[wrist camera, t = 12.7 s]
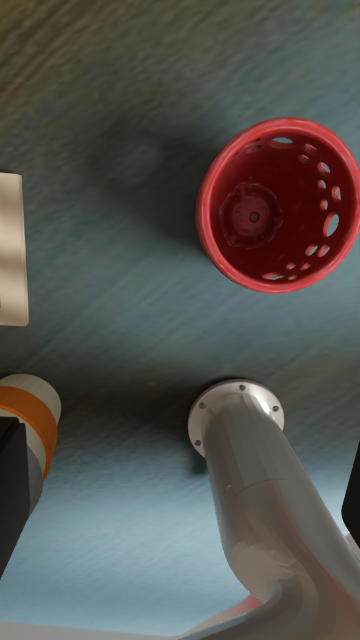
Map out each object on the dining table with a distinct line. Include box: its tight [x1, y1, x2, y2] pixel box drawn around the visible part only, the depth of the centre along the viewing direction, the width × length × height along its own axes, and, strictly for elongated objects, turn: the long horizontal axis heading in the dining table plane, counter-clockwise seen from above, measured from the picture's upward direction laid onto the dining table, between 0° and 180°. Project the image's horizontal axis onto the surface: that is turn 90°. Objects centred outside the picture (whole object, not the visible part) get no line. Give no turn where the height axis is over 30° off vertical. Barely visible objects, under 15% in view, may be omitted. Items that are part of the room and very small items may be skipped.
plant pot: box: [195, 117, 360, 294], centre depth 31 cm, size 13×13×12 cm
